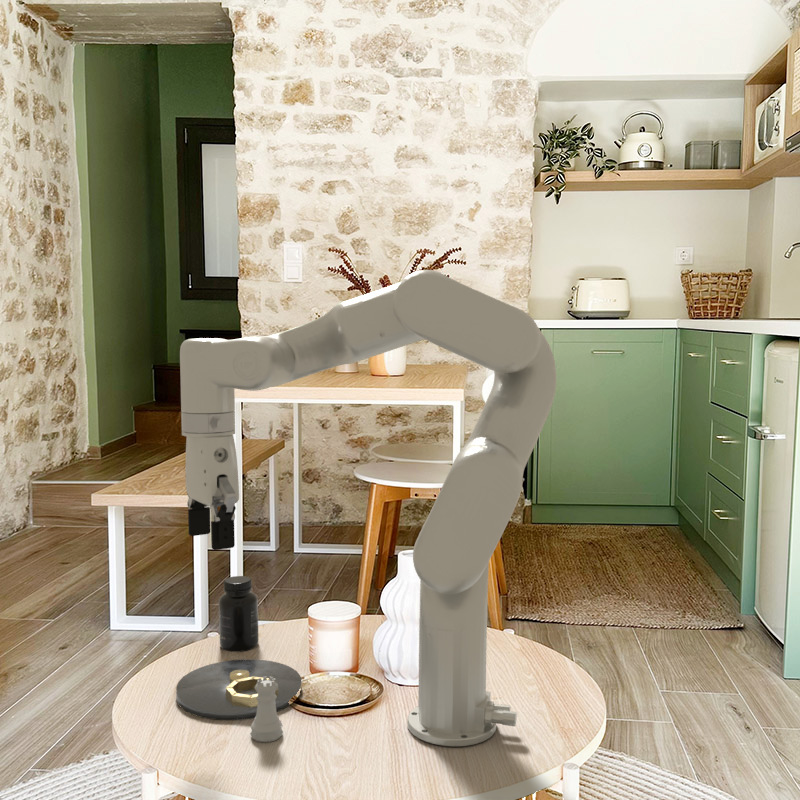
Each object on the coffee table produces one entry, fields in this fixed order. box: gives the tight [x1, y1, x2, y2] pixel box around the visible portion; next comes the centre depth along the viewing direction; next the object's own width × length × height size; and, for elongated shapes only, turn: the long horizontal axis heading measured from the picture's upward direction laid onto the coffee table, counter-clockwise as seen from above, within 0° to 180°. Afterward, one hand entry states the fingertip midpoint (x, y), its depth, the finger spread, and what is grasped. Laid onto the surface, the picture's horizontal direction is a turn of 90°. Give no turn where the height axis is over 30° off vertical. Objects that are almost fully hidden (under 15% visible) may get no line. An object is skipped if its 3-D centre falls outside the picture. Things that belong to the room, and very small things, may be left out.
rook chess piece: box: [250, 676, 284, 744], centre depth 119 cm, size 4×4×8 cm
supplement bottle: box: [218, 575, 259, 653], centre depth 153 cm, size 7×7×12 cm
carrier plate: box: [175, 658, 302, 721], centre depth 134 cm, size 19×19×3 cm
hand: (211, 541), depth 125 cm, fingers open, 9 cm apart
